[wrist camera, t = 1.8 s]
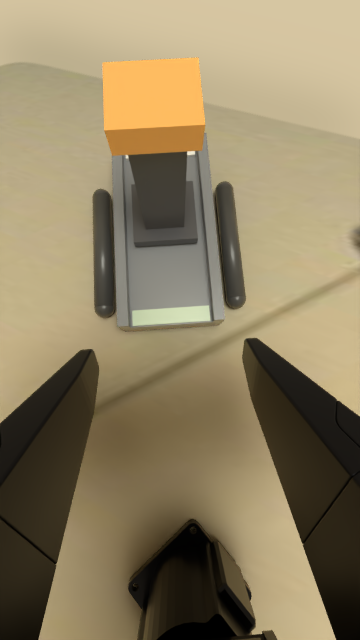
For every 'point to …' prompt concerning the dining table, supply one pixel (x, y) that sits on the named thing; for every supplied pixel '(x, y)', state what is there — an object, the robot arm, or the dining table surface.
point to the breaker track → (167, 257)
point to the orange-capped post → (156, 142)
